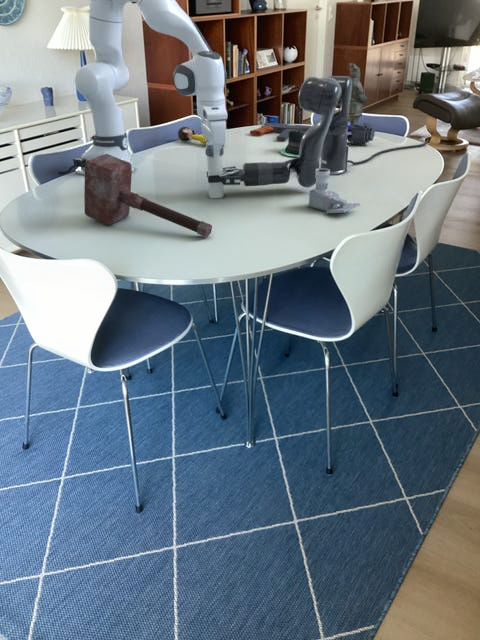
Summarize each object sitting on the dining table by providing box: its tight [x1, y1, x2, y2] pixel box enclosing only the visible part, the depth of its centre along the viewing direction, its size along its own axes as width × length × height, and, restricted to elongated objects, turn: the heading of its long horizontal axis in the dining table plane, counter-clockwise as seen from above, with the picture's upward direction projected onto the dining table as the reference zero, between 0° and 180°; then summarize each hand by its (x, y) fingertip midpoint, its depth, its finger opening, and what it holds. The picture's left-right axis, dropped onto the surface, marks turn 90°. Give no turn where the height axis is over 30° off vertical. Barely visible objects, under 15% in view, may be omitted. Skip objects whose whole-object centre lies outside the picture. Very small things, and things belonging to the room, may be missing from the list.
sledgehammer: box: [83, 154, 213, 238], centre depth 159 cm, size 17×10×40 cm
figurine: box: [177, 126, 207, 146], centre depth 251 cm, size 13×8×25 cm
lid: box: [204, 145, 225, 157], centre depth 179 cm, size 6×6×2 cm
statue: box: [348, 62, 368, 127], centre depth 262 cm, size 11×9×30 cm
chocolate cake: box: [279, 128, 310, 158], centre depth 234 cm, size 15×19×20 cm
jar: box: [206, 155, 225, 199], centre depth 183 cm, size 5×5×16 cm
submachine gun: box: [249, 122, 313, 141], centre depth 263 cm, size 32×3×25 cm
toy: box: [347, 122, 376, 146], centre depth 244 cm, size 9×9×15 cm
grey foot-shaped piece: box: [308, 168, 361, 214], centre depth 169 cm, size 9×12×15 cm
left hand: (213, 154), depth 180 cm, fingers open, 8 cm apart
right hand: (207, 177), depth 183 cm, fingers closed on jar, 5 cm apart
